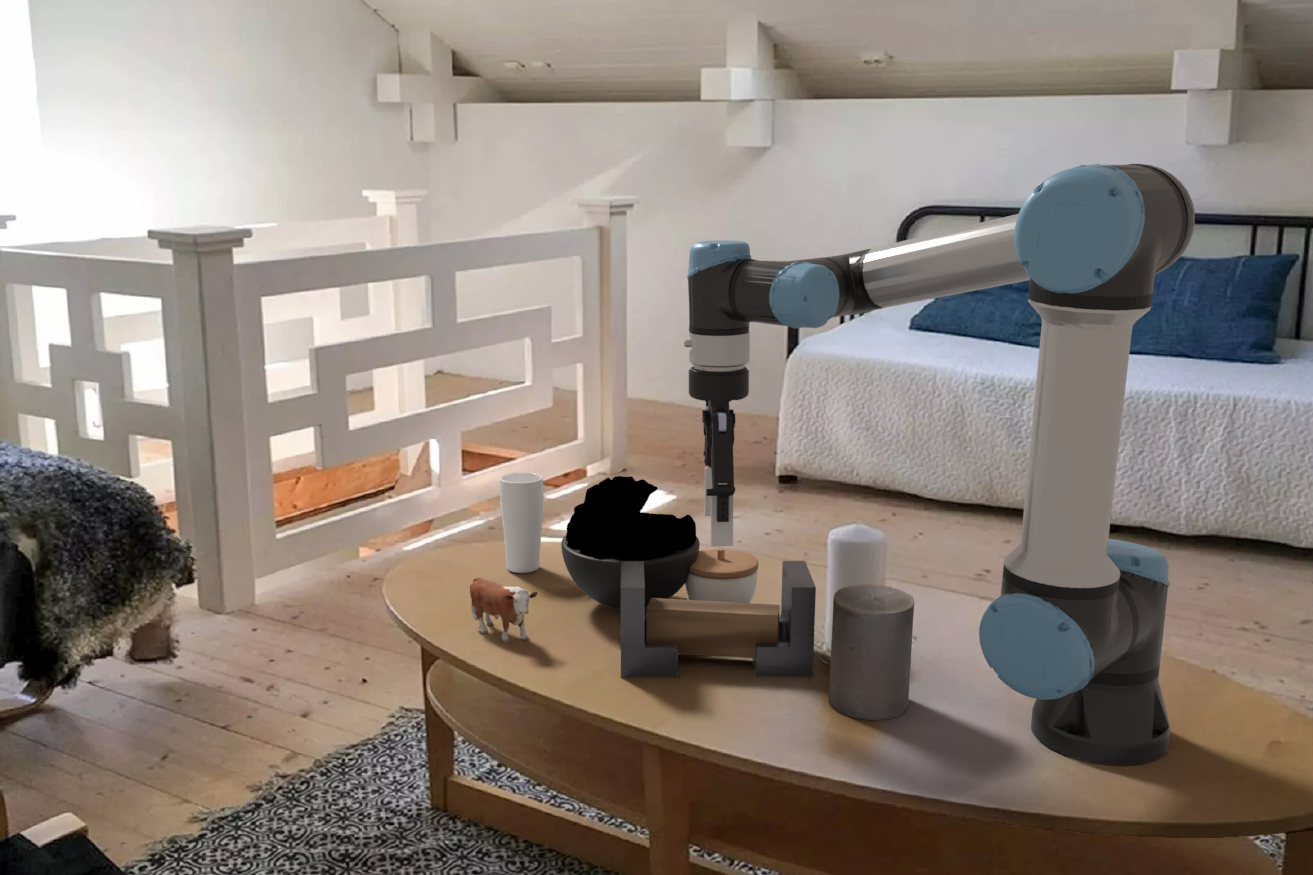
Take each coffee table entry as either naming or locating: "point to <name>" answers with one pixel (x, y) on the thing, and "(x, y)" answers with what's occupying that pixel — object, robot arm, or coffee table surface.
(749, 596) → the lidded jar
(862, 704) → the pillar candle
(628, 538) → the dark grey bowl
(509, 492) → the drinking glass
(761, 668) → the grey stand
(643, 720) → the coffee table surface
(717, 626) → the rail
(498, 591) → the bull figurine
